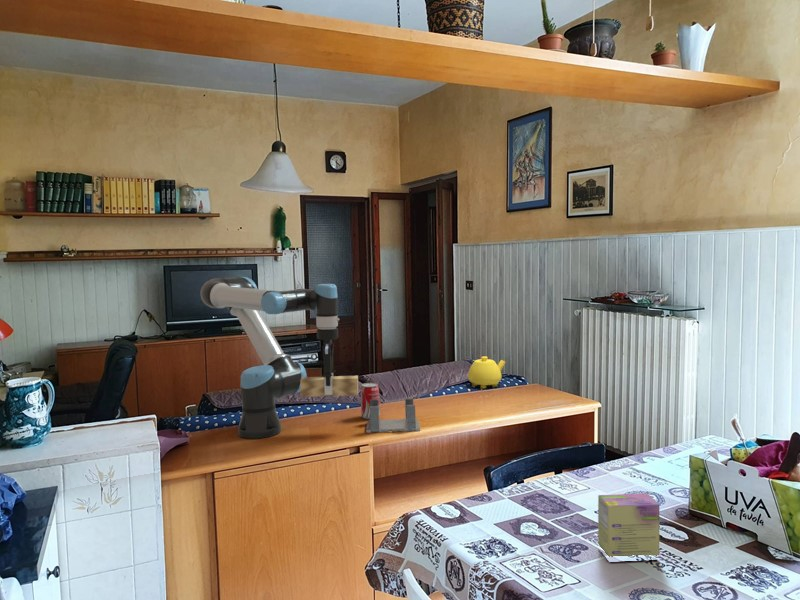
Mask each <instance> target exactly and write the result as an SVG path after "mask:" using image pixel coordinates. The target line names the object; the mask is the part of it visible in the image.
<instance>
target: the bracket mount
mask: <svg viewBox="0 0 800 600" xmlns="http://www.w3.org/2000/svg"><path fill="white" fill-rule="evenodd" d="M404 404H405V405H404V407H405V408H404V411H405V418H401V419H400V418H396V419H395V418H394V419H380V416H379V406H378V399H370V420H367V419H366V431H365V432H366V434H372V433H373V434H374V433H375V434H376V433H377V432H380V433H390V432H389V431H404V432H420V431H421V426H420V422H419V418H418V417H417V418H416V404H414V397H405V398H404Z"/></svg>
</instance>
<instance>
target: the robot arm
mask: <svg viewBox="0 0 800 600" xmlns="http://www.w3.org/2000/svg"><path fill="white" fill-rule="evenodd" d="M337 288H338V287H337V285H336V284H334V283H321V284H320V283H319V284H316V285H315V289H312V288H311V289H309V288H295V289H293V290H292V289H291V290H283V291H279V290H272V289H271V290H270V289H261V288H260V289H259V288H258V287H257V285H256V283H255V281H254V280H253V279H251V278H249V277H246V276H234V277H218V278H217V277H216V278H212V279H209V280H207V281H205V283H204V284H203V285H202V287H201V288H200V292H199V293H200V295H199V296H200V298H201V299H200V300H201V301H202V302H203V304H204V305H205V306H207V307H209V308H212V309H225V308H227V309H228V311H229V313H230V315H231V316H234V317H236V318H237V319H238V321H239V323H240V324H241V327H242V328H243V330H244V331H245V333H246V335H247V337H248V338H249V341H250V342H251V344H252V346H253V347H254V349H255V351H256V353H257V354H258V356H259V358H260V360H261V362H262V363H263V364H261V365H257V366H252V367H249V368H247V369H245V370H243V371H242V372H241V375H240V394H241V411H242V412H241V417H240V420H239V424H238V428H237V432H238V433H237V435H238V436H239V437H240V438H243V439H250V440H251V439H264V438H269V437H273V436H276V435H278V434H280V433H281V432H282V422H281V420H280V419H279V415H278V413H277V410H276V400H277V399H278V400H279V399H282V398H285V397H288V396H293V395H295V394H297V393H301V386H300V380H301V378H302V377H308V376H307V375H308V374H307V371H306V368H305V367H304V365H303V364H302V363H300V362H298V361H294V360H293V358H292V357H291V355H290V354H287V353H284V350H283V349H282V347H281V345H280V344H279V342H278V340H277V339H276V337H275V335H274V334H273V331H272V330H271V328H270V327H269V325H268V323H267V321H266V319H265V318H264V316H263V314H262V312H265V314H268V315H279V314H280V315H281V314H283V313H284V314H285V313H292V312H301V311H315V312H316V314H315V317H316V318H315V320H316V322H315V323H316V328H317V329H316V339H317V340H320V341H323V343H322V345H321V350H322V360H323V361H322V363H323V364H322V365H323V374H322V376H321V377H324V387H325V395H333V390H332V376H334V373H336V369H335V368H334V353H335V352H334V348H335V344H334V343H333V340H337V339H339V328H338V326H339V321H340V318H339V317H338V316H339V315H338V314H339V313H338V298H339V297H338V289H337Z"/></svg>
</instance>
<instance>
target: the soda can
mask: <svg viewBox="0 0 800 600" xmlns="http://www.w3.org/2000/svg"><path fill="white" fill-rule="evenodd" d="M370 399H378V406H379V417H380V415H381V408H380V407H381V405H380V404H381V403H380V388H379V385H378V383H377V382H366V383H362V384H361V387H360V408H361V413H360V414H361V418H363V419H364V420H366V421H367V420H370Z"/></svg>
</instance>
